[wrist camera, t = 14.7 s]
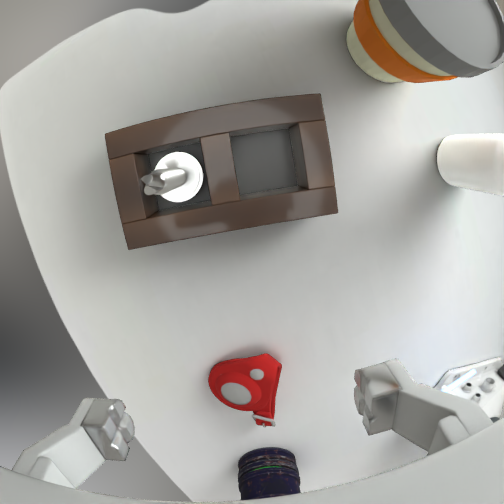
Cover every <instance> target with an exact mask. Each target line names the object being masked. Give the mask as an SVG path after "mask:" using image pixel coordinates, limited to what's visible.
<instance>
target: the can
mask: <svg viewBox="0 0 504 504" xmlns="http://www.w3.org/2000/svg"><path fill="white" fill-rule="evenodd" d="M437 165H438V169H439V172H440V174H441V176H442V178H443V179H444V180H445V181H446V182H447V183H448V184H450V185H452V186H455V187H460V188H465V189H470V190H475V191H480V192H484V193H489V194H494V195H498V196H503V197H504V134H466V135H451V136H447V137H446V138H444V139H443V141H442V142H441V144H440V146H439V148H438V152H437Z"/></svg>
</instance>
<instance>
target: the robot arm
mask: <svg viewBox="0 0 504 504" xmlns="http://www.w3.org/2000/svg"><path fill="white" fill-rule="evenodd" d="M354 380H355V382H356V384H357V386H356V387H355V388H354V399H355V405H356V408H357V410H358V413H359V414H360V415H362V416H363V424H364V426H365V429H366V431H367V433H368V435H373V434H377V433H380V432H384V431H387V430H390V429H392V430H393V431H395V432H396V433H398V434H399V435H401V436H403V437H404V438H406V439H408V440H409V441H411V442H413V443H414V444H416V445H418V446H419V447H421V448H423V449H424V450H426V451H428V454H427V456H426V457H424V458H421V459H419V460H416V461H414V462H411V463H409V464H406V465H403V466H401V467H398V468H395V469H392V470H389V471H386V472H383V473H380V474H377V475H374V476H370V477H367V478H364V479H360V480H356V481H353V482H349V483H345V484H341V485H337V486H333V487H328V488H324V489H319V490H314V491H309V492H304V493H298V494H292V495H285V496H278V497H271V498H262V499H252V500H240V501H222V502H172V501H155V500H144V499H134V498H126V497H118V496H112V495H105V494H99V493H94V492H89V491H83V490H79V489H77V488H78V487H79V486H80V485H81V484H82V483H83V482H84V481H85V480H86V479H87V478H88V477H89V476H90V475H92V473H94V472H95V471H96V470H97V469H98V468H99V467H100V466H101V465H102V464H103V463H104V462H105V461H106V460H116V461H125V460H126V458H127V455H128V452H129V449H130V448H129V446H128V443H129V442H130V441H131V440H132V439H133V437H134V423H133V420H132V418H131V416H130V415H128V414H127V413H126V412H124V411H125V408H126V407H125V405H124V403H123V401H122V400H119V399H99V398H97V399H95V398H85V399H84V400H82V402H81V404H80V406H79V407H78V409H77V411H76V412H75V414H74V416H73V417H72V419H71V421H70V423H69V425H64V426H62V427H61V428H59V429H57V430H56V431H54V432H53V433H51V434H49V435H48V436H46V437H44V438H43V439H41V440H40V441H38V442H36V443H35V444H33V445H32V446H30V447H28V448H26V449H25V450H23V452H22V453H21V455H20V457H19V458H18V460H17V462H16V463H15V465H14V467H13V468H12V470H9V469H7V468H4V467H2V466H0V504H504V417H503V418H501V419H500V416H501V413H502V409H503V406H504V365H503V362H502V359H501V358H500V357H497V358H493V359H490V360H486V361H483V362H479V363H476V364H472V365H468V366H464V367H461V368H456V369H452V370H450V371H448V372H447V373H446V374H445V375H444V376H443V377H442V379H441V380H440V381H439V383H438V384H437V385H436V386H435V387H434V388H433V387H430V386H427V385H424V384H422V383H421V384H418V385H417V383H416V382H415V381H414V379H413V378H412V377H411V375H410V374H409V373H408V371H407V370H406V369H405V367H404V366H403V365H402V364H401V362H400V361H399V360H398V359H396V358H395V359H392V360H389V361H385V362H383V363H380V364H376V365H373V366H369V367H365V368H361V369H357V370H355V376H354Z"/></svg>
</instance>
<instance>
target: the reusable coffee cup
mask: <svg viewBox="0 0 504 504" xmlns="http://www.w3.org/2000/svg"><path fill="white" fill-rule="evenodd" d="M347 47H348V50H349V52H350V55H351V56H352V58H353V60H354V61H355V63H356V64H357V65H358V66H359V67H360V68H361V69H362V70H363V71H364V72H365V73H366V74H368V75H369V76H371V77H373V78H375V79H377V80H379V81H382V82H387V83H396V82H403V81H407V82H413V83H423V82H433V81H444V80H451V79H454V78H457V77H474V76H477V75H480V74H482V73H484V72H487V71H489V70H491V69H494V68H496V67H498V66H499V65H501V64H502V63H503V62H504V17H503V14H502V12H501V10H500V8H499V6H498V4H497V2H496V0H359V1H358V3H357V5H356V7H355V11H354V18H353V21H352V23H351V25H350V27H349V29H348V32H347Z"/></svg>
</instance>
